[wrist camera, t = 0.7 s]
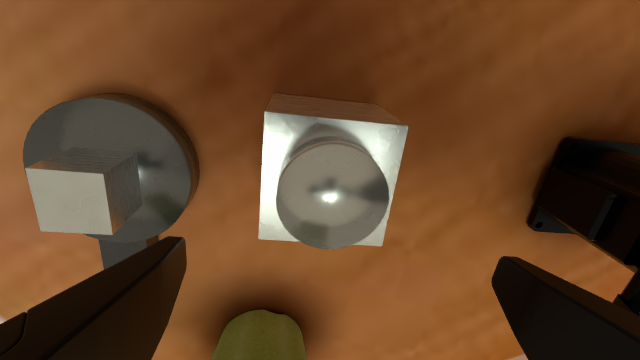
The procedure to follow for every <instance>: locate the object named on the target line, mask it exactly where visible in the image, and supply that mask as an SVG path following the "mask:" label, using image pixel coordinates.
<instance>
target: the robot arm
mask: <svg viewBox="0 0 640 360" xmlns="http://www.w3.org/2000/svg"><path fill="white" fill-rule="evenodd" d="M570 144H572V145H571V147H569V146H570ZM536 223H537V224H536ZM528 226H529V227H530V228H531V229H532V230H534V231H539V232H554V233H569V234H577V235H578V236H580V237H581V238H583V239H584V240H586V241H587V242H589V243H590V244H592V245H593V246H595V247H596V248H598V249H599V250H601V251H602V252H604V253H605V254H607V255H608V256H610V257H611V258H613V259H614V260H616V261H618V262H619V263H621V264H622V265H624V266H625V267H627V268H628V269H630V270H631V271H633V272H634V273H635V274H634V275H633V277H632V278H631V280H630V281H629V283H628V284H627V286H626V287H625V289H624V290H623V292H622V293H621V294H618V295H617V297H616V298H615V300H614V301H613V303H611V302H609V301H607V300H605V299H603V298H601V297H599V296H597V295H595V294H593V293H590V292H588V291H586V290H584V289H582V288H580V287H578V286H576V285H574V284H572V283H570V282H568V281H566V280H564V279H561V278H559V277H557V276H555V275H553V274H551V273H549V272H547V271H545V270H543V269H541V268H539V267H537V266H535V265H532V264H530V263H528V262H526V261H524V260H522V259H520V258H518V257H510V256H503V257H501V258H500V259H499V261H498V264H497V266H496V269H495V272H494V274H493V277H492V287H493V289H494V292H495V294H496V296H497V298H498V300H499V303H500V305H501V307H502V309H503V311H504V313H505V316H506V318H507V320H508V322H509V324H510V327H511V329H512V331H513V333H514V335H515V337H516V339H517V341H518V342H519V344H520V346H521V348H522V349H523V351H524V353H525V355H526V356H527V358H528V360H640V144H636V143H627V142H617V141H607V140H598V139H588V138H578V137H567V138H565V139H564V140H563V141H562V142H561V144H560V146H559V149H558V151H557V154H556V156H555V158H554V161H553V163H552V166H551V168H550V170H549V173H548V175H547V178H546V180H545V182H544V185H543V187H542V190H541V192H540V194H539V197H538V199H537V201H536V204H535V206H534V209H533V211H532V213H531V216H530V218H529V221H528ZM186 265H187V260H186V244H185V239H184V238H183V237H172V236H168V237H166V238H164V239H162V240H160V241H158V242H156V243H154V244H152V245H150V246H148V247H147V248H145V249H143V250H141V251H139V252H137V253H135V254H133V255H131V256H129V257H128V258H126V259H124V260H122V261H120V262H118V263H116V264H114V265H112V266H110V267H109V268H107V269H105V270H103V271H101V272H99V273H97V274H95V275H93V276H91V277H89V278H88V279H86V280H84V281H82V282H80V283H78V284H76V285H74V286H72V287H70V288H68V289H67V290H65V291H63V292H61V293H59V294H57V295H55V296H53V297H51V298H49V299H48V300H46V301H44V302H42V303H40V304H38V305H36V306H34V307H32V308H30V309H29V310H28V311H27V313H26V312H23V313H21V314H19V315H17V316H15V317H13V318H11V319H9V320H7V321H6V322H4V323H2V324H0V360H151V359H152V357H153V355H154V353H155V350H156V348H157V346H158V344H159V342H160V340H161V338H162V335H163V333H164V331H165V329H166V326H167V324H168V321H169V319H170V316H171V313H172V310H173V307H174V304H175V301H176V298H177V295H178V292H179V289H180V286H181V283H182V280H183V277H184V274H185V271H186Z"/></svg>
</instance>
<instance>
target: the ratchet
mask: <svg viewBox="0 0 640 360" xmlns="http://www.w3.org/2000/svg"><path fill="white" fill-rule="evenodd" d="M23 162H24V168H25V172H26V175H27V178H28V181H29V185H30V189H31V193H32V197H33V201H34V205H35V209H36V213H37V217H38V221H39V225H40V229H41V231H49V232H67V233H83V234H85V235H87V236H90V237H93V238H97V239H99V244H100V249H101V255H102V261H103V266H104V270H105V269H107V268H109V267H110V266H112V265H114V264H116V263H118V262H120V261H122V260H124V259H126V258H128V257H129V256H131V255H133V254H135V253H137V252H139V251H141V250H143V249H145V248H147V247H148V246H150V245H152V244H154V243H156V242H158V235H159V234H160V233H162V232H164V231H165V230H167V229H168V228H169V227H171V226H172V225H173V224H174V223H175V222H176V220H177V219H178V218H179V217H180V215H181V214H182V212H183V211H184V209H185V208H186V207H187V205H188V204H189V202H190V201H191V199H192V197H193V196H194V194H195V191H196V189H197V186H198V181H199V162H198V158H197V154H196V151H195V148H194V146H193V144H192V142H191V140H190V138H189V136H188V135H187V134H186V132H185V131H184V129H183V128H182V127H181V126H180V125H179V124H178V122H177V121H176V120H175V119H173V118H172V117H171V116H170V115H169V114H168V113H166V112H165V111H163V110H162V109H161V108H159V107H157V106H155V105H154V104H152V103H150V102H148V101H145V100H143V99H140V98H137V97H133V96H130V95H124V94H113V93H107V94H98V95H93V96H89V97H85V98H80V99H76V100H72V101H67V102H63V103H61V104H58V105H56V106H54V107H52V108H50V109H49V110H47V111H45V112H44V113H43V114H42V115H41V116H39V117H38V118H37V120H36V121H35V122H34V123H33V125H32V126H31V128H30V130H29V132H28V133H27V136H26V139H25V142H24V149H23Z"/></svg>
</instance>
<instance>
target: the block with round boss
mask: <svg viewBox="0 0 640 360" xmlns="http://www.w3.org/2000/svg"><path fill="white" fill-rule="evenodd" d="M408 127H409V126H407V125H406V124H405V123H403V122H402V121H400V120H399V119H397V118H396V117H394V116H393V115H391V114H390V113H389V112H387V111H386V110H384V109H383V108H381V107H380V106H378V105H377V104H369V103H360V102H351V101H342V100H332V99H323V98H314V97H305V96H296V95H286V94H277V93H274V94H273V96H272V98H271V100H270V102H269V104H268V106H267V108H266V110H265V114H264V135H263V156H262V176H261V197H260V218H259V238H258V239H266V240H283V241H300V242H302V243H304V244H306V245H309V246H312V247H316V248H322V249H338V248H343V247H347V246H350V245H370V246H382V243H383V239H384V234H385V230H386V225H387V221H388V216H389V212H390V207H391V203H392V198H393V194H394V189H395V185H396V181H397V176H398V172H399V167H400V163H401V158H402V154H403V149H404V145H405V140H406V136H407V132H408Z"/></svg>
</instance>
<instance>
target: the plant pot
mask: <svg viewBox="0 0 640 360" xmlns="http://www.w3.org/2000/svg"><path fill="white" fill-rule="evenodd" d="M211 360H307V357H306V352H305V346H304V342H303V337H302V332H301V329H300V328H299V326H298V324H297V323H296V322H295V321H294V320H293V319H292V318H290V317H289V316H287V315H285V314H275V313H271V312H269V311H267V310H253V311H249V312H246V313H243V314H241V315H239V316H237V317H235V318H234V319H233V320H231V321H230V322H229V323H228V324H227V326H226V327H225V329H224V331H223V333H222V335H221V337H220V340H219V342H218V345H217V347H216V350H215V352H214V355H213V357H212V359H211Z"/></svg>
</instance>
